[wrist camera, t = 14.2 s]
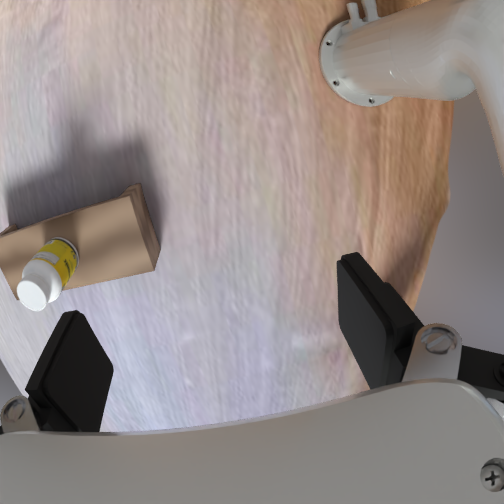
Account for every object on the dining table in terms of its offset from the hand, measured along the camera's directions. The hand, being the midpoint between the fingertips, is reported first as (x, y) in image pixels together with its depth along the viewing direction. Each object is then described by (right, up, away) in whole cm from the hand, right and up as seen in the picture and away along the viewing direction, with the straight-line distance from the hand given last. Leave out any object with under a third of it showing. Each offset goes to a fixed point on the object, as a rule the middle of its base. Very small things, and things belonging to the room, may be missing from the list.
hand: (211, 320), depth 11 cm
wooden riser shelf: (-24, +5, +31) cm, 40 cm away
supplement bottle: (-23, +2, +26) cm, 35 cm away
